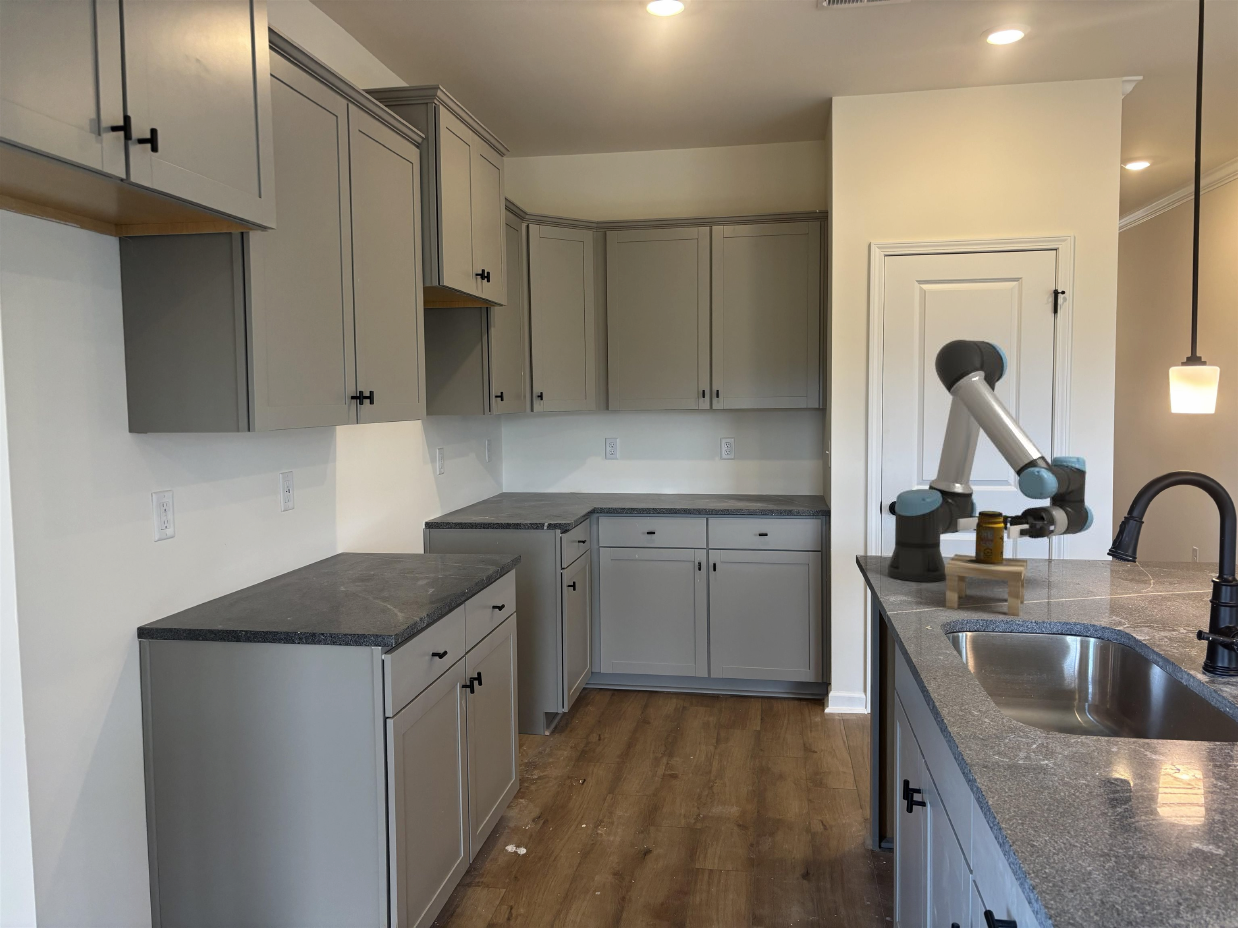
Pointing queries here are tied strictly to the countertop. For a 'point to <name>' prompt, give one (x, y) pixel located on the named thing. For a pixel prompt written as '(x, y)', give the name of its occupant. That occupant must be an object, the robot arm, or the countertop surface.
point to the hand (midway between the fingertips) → (982, 528)
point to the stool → (1009, 571)
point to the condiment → (989, 539)
